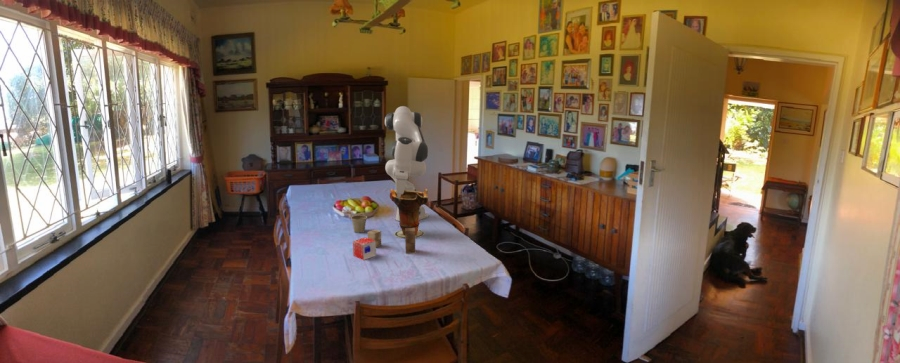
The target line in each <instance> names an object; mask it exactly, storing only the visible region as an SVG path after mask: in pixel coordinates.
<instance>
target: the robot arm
mask: <svg viewBox="0 0 900 363" xmlns="http://www.w3.org/2000/svg"><path fill="white" fill-rule="evenodd" d="M384 125H385V127H386V129H387V130H388V131H392V132H393V131H394V132H395V141H394V142H393V143H392V144H391V146H392V147H391V153H390V155H391V157H393V158H394V159H389V160H388V161H387V162H386V163H385V167H384V169H385V172H386V174H387V175H388V176H390V177H391V178H392V179H393V181H394V182H395V183H394V184H395V190H396V194H397V197H401V194H403V193H404V190H407V191H416V190H415V189H416V188H415V185H414V184H413V183H412V182H411V181H409V177H421V176H424V174H426V171H427V164H426V162H425V160H427V158H428V156H429V148H428V145H427V143H426V142H425V139H424V136H423V133H422V130H421V127H422V126H423V117H422V114H421V113H420V112H418V111H417V112H416V111H413V112H412V111H411V109H410V108H409V107H408V106H405V105H402V106H399V107H397V108H396V109H395V111H394V112H389V113H387V114H386V115H385V117H384ZM396 207H397V206H396ZM428 217H429V214H428V213H426V209H425V206H423V205H421V206H420V210H419V221H421V220H424V219H425V218H426V219H427V218H428ZM394 218H395V219H394V220H396V221H398V222H400V219H399V209H398V207H397V208H396V215H395V217H394Z"/></svg>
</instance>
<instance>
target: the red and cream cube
mask: <svg viewBox="0 0 900 363" xmlns="http://www.w3.org/2000/svg"><path fill="white" fill-rule="evenodd" d="M376 248H377V247H376V243H375V240H372V239H369V238H368V237H365V236H364V237H362V238H358V239H355V240H353V241H352V255H353V257H354V258H358V259H360V260H363V261H365V260H367V259H369V258H372V257H375V256H377V253H376V252H377V250H376Z"/></svg>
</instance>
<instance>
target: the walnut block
mask: <svg viewBox="0 0 900 363" xmlns="http://www.w3.org/2000/svg"><path fill="white" fill-rule="evenodd" d="M404 240H405V242H404V243H405V244H404V246H405V254H406V255H407V254H408V255H409V254H416V238H415V228H405V238H404Z"/></svg>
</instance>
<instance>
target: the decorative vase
mask: <svg viewBox="0 0 900 363" xmlns="http://www.w3.org/2000/svg"><path fill="white" fill-rule="evenodd" d="M389 199H391V201H392V202H393V203H394V204H395V205H396V207H398V209H399V219H400V221H399V223H398V224H399V226H400V227H399V228H400V230H396V231H395V232H393V236H394V237H396V238H399V239H403V238H404V239H405V228H415V239H417V238H421V237H423V236H424V235H425V234H426V232H425V231H423V230H422V229H419V228H420V220H419V210H420V206H421V205H422V206H423V205H427V204H428V199H429V196H428V189H427V188H425V189H424V191H423V192H422V191H418V190H415V191H407V190H404V193H403V194H401V197H397V194H396V189H395V190H394V188H391V189H390V192H389Z"/></svg>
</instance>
